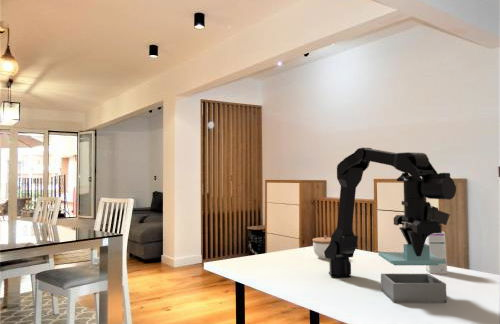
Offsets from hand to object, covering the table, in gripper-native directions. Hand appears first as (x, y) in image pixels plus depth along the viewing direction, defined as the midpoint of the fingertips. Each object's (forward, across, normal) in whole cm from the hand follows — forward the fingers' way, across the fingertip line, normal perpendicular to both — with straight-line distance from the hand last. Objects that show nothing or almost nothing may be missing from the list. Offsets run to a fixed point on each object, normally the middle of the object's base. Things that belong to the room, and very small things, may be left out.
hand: (416, 255), depth 104 cm
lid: (+3, +5, 0) cm, 5 cm away
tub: (+12, +4, 0) cm, 13 cm away
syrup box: (+13, +32, -19) cm, 39 cm away
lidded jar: (+13, +57, +16) cm, 61 cm away
